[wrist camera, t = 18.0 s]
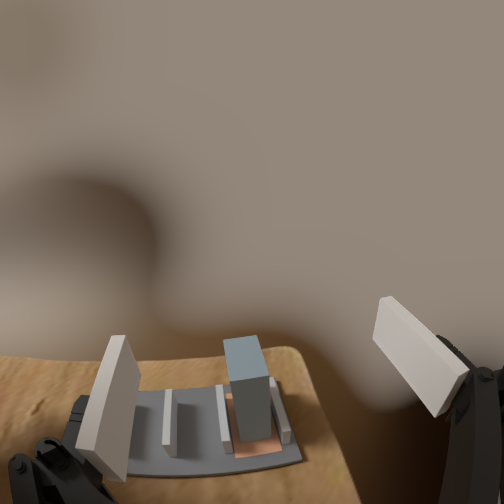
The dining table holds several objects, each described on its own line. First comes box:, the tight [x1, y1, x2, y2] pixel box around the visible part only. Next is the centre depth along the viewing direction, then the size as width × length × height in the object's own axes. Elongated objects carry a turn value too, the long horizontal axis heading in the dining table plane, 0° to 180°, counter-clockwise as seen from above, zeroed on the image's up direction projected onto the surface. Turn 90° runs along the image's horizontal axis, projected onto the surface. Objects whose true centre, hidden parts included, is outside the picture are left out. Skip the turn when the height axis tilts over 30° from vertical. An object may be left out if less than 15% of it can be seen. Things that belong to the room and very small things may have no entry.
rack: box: [127, 377, 302, 477], centre depth 33 cm, size 25×16×4 cm, turn 99°
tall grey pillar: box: [223, 335, 271, 443], centre depth 32 cm, size 4×7×13 cm, turn 10°
